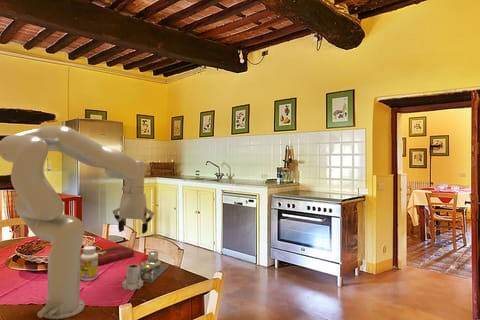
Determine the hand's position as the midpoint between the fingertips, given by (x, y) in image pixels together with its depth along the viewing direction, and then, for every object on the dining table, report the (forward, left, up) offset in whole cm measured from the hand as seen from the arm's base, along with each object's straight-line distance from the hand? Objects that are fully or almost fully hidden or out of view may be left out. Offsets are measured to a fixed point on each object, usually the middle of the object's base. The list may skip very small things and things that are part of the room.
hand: (132, 232), depth 137 cm
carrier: (+10, -3, -20) cm, 23 cm away
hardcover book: (+24, +23, -21) cm, 40 cm away
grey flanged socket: (-4, -3, -20) cm, 21 cm away
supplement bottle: (-1, +18, -21) cm, 28 cm away
